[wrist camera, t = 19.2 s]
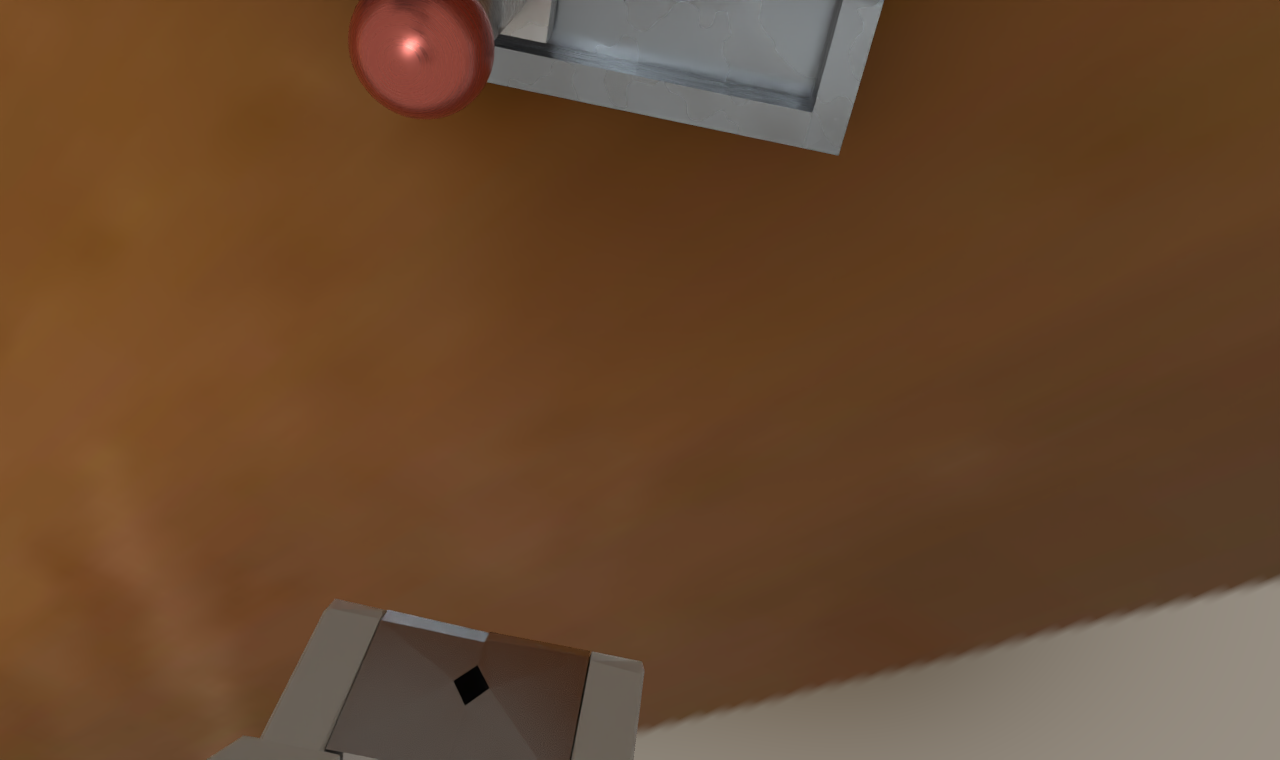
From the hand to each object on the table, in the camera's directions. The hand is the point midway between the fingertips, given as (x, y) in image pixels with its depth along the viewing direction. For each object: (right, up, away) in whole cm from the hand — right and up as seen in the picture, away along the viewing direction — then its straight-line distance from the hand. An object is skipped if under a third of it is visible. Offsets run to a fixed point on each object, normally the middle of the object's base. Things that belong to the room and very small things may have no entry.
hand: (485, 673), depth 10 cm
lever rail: (+1, +16, +25) cm, 29 cm away
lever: (-3, +16, +23) cm, 28 cm away
